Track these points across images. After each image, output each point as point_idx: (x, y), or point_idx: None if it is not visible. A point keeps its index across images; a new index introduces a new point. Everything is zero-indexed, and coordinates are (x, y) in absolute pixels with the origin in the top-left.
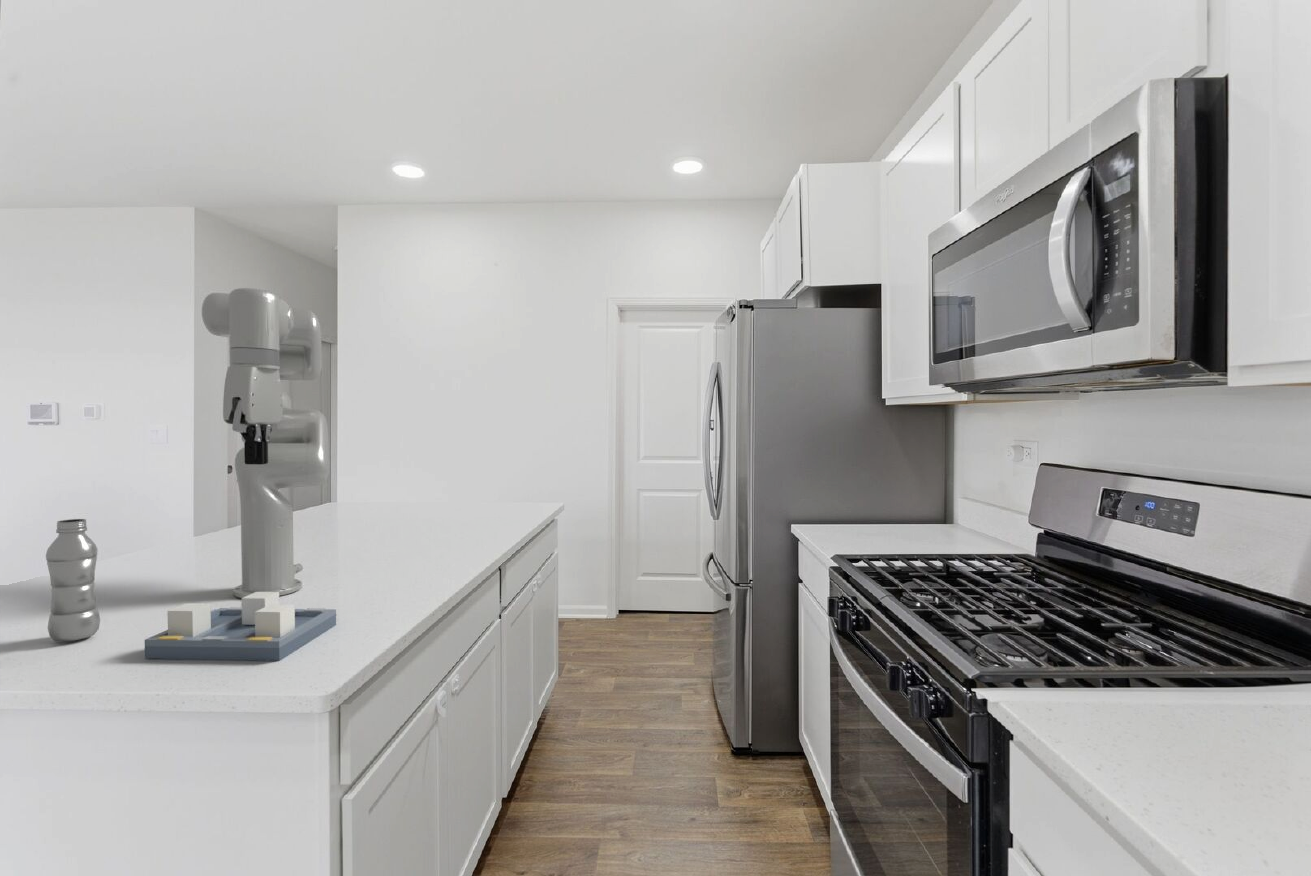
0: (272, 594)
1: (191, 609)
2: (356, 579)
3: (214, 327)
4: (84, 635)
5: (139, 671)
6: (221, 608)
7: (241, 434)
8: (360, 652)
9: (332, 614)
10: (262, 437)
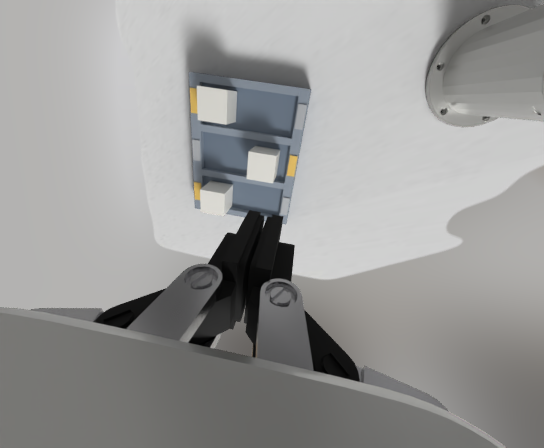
0: (262, 180)
1: (203, 114)
2: (498, 188)
3: None
4: None
5: (170, 92)
6: (308, 91)
7: (136, 300)
8: None
9: None
10: (251, 338)
